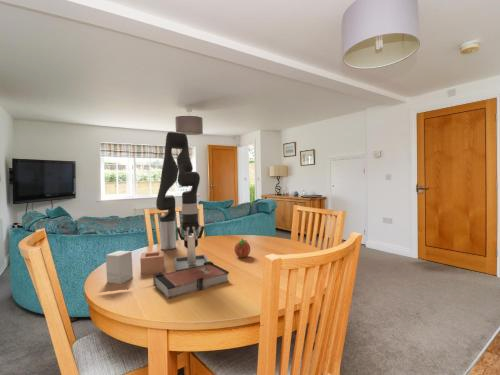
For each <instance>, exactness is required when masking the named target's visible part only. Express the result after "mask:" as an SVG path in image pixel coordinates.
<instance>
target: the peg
mask: <svg viewBox="0 0 500 375" xmlns="http://www.w3.org/2000/svg"><path fill="white" fill-rule="evenodd" d="M187 246H188V248H186V249H187V250H186V254H187V255H186V257H187V261H188V264H194V263H196V254H197V252H196V247H195V236H194V235H188V236H187Z"/></svg>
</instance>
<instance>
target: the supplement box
mask: <svg viewBox="0 0 500 375" xmlns="http://www.w3.org/2000/svg"><path fill="white" fill-rule="evenodd" d="M132 253H133V252H132V251H130V250H129V251H128V250H116V251H114V252H111V253H107V254H106V255H105V266H106V267H105V268H106V269H105V270H106V282H107V283H110V284H115V285H116V284H117V285H118V284H119V285H121V284H123V283H125V282H127V281H130V280H131V279H133V278H134V277H133V276H134V275H133V273H134V272H133V258H132V257H133V256H132Z"/></svg>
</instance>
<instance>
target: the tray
mask: <svg viewBox="0 0 500 375" xmlns="http://www.w3.org/2000/svg"><path fill="white" fill-rule="evenodd" d="M205 262H209V259H208V257H207V256H206V254H197V255H196V263H194V264H188V261H187V256H179V257H174V258H173V263H174V270H175V271H179V270H184V269H188V268H192V267H197V266H201V265H204V263H205Z"/></svg>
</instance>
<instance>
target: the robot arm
mask: <svg viewBox="0 0 500 375" xmlns="http://www.w3.org/2000/svg"><path fill="white" fill-rule="evenodd" d="M164 147H165V148H164V157H163V163H162V169H161V176H160V183H159V189H158V192H157V197H156V203H155V205H156V209H157V210H159V211H167V212H165V214H163V215H161V216H160V217H159V233H160V236H159V237H160V249H161V250H163V251H164V250H166V251H167V250H172V249H175V248H177V240H176V231H177V234H178V237H179V238H180V240H181V241H183V243H184V244H183V245H184V248H185V249H187V248H188V246H187V236H189V234H193V236H195V248H197V247H198V246H199V239H202V236H203V233H204V230H205V226H204V225H200V224H199V209H198V208H199V207H198V198H197V196H198V190H199V186H200V182H201V177H200V174H199V173H198V172H197V171H193V169H194V167H193V164H192V160H191V157H190V149H189V142H188V137H187V134H186V133H184V132H179V131H168V132H167V133H166V136H165V146H164ZM173 149H177V150H181V151H180V152H179V154H178V155H177V157H176V161H175V158H174V156H173V154H172V150H173ZM176 182H177V183H178V184H179V186H181V187H191V189H189V190H185V191H183V192H182V194H181V217H182V219H181V221H182V223H181V225H180V226H178V227H176V198H175V196H174V195H171V194H167V193H168V191H169V190H170V189H171V188H172V187H173V185H174V184H175V183H176ZM166 194H167V195H166ZM198 229H199V233H198V234H197V230H198ZM182 230H183V231H184V235H182V233H181V232H182Z"/></svg>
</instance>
